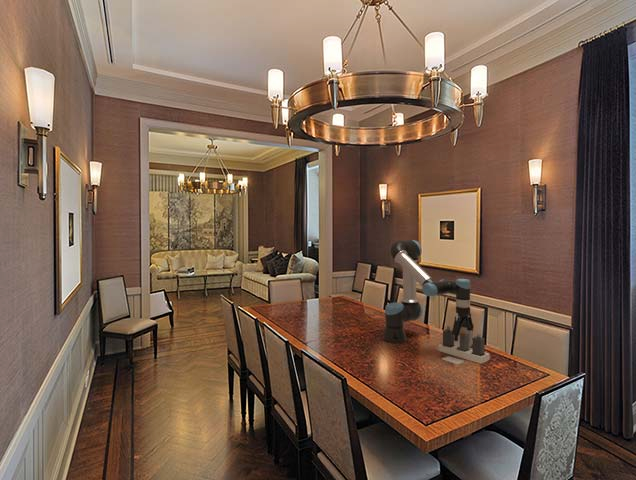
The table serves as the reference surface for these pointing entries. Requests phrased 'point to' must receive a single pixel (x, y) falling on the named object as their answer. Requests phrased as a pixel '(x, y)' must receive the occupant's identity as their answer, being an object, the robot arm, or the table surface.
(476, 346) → the strip
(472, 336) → the coffee cup
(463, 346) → the plug
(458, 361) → the mat
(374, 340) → the table surface
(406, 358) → the table surface
